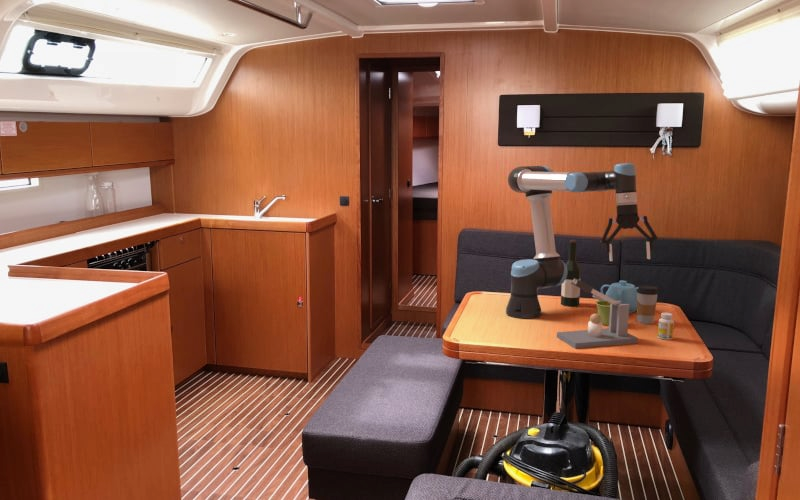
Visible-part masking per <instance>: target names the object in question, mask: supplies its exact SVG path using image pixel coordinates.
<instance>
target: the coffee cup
mask: <svg viewBox="0 0 800 500" xmlns="http://www.w3.org/2000/svg"><path fill="white" fill-rule="evenodd" d="M637 287H638V289H637V310H636V315H637V319H636V320H637V322H638V323H639V324H642V325H643V324H644V325H651V324H652V325H653V323H654V322H655V321H654V320H655V315H656V308H657V303H658V295H659V291H658V287H657V286H654V285H649V284H648V285H646V284H645V285H644V284H641V285H638V286H637Z"/></svg>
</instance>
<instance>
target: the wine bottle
mask: <svg viewBox="0 0 800 500" xmlns="http://www.w3.org/2000/svg"><path fill="white" fill-rule="evenodd" d="M577 246H578V242H577V241H576V240H574V239H571V240H569V242H568V255H567V256H568V259H567V261H566V262H565V264H566V266H567V277H566V280H565V281H564V282H563V283H562V284H561V293H560V305H561V306H563V307H569V308H572V307H579V305H580V298H581V289H580V288H578V287H577V286H575V285H573V284H571V282H572V280H573V279H574V278H576V279H578V280H580V281H582V280H581V279H582V278H581V277H582V268H581V267H580V265H579V263H578V262H577Z"/></svg>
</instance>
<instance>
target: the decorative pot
mask: <svg viewBox="0 0 800 500" xmlns="http://www.w3.org/2000/svg"><path fill="white" fill-rule="evenodd" d="M600 287H601V288H600V293H602V294H604V295H606V296H608V297H610V298H611V299H613V300H615V301H622V303H621V304H629V315H631V314H632V313H633V312H637V289H638V286H637V287H636V285H634V284H632V283H628V281H627V280H622V279H621V280H619V281H618V282H612V283H611V284H607V283H606V284H603V285H602V286H600ZM604 288H608V289H607V290H606V292H605V293H604ZM598 301H600V300H598ZM603 301H605V300H603Z"/></svg>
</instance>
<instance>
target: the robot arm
mask: <svg viewBox="0 0 800 500" xmlns="http://www.w3.org/2000/svg"><path fill="white" fill-rule="evenodd" d="M507 183H508V186H509V188H510V189H511V190H512V191H513V192H515V193H518V194H525V198H526V200H527V201H529V206H530V213H531V220H532V221H531V223H532V229H533V230H532V231H533V238H534V246H535V256H534V257H533V259H532V258H531V259H530V258H529V259H528V258H527V259H520V260H516V261H515V262H513V263H512V265H511V271H510V296H509V300H508V302H507V305H506V306H505V307H506V308H505V309H506V310H505V311H506V312H505V314H506V315H507V316H509V317H511V318H512V317H513V318H517V319H536V318H540V317H541V316H542V308H541V304H540V300H539V290H540V289H547V288H555V287H558V286H562V283H563V282H564V281H565V280H566V277H567V266H566V263H565V262H564V261H563V260H562V259H561V255H560V254H559V253H558V252H557V249H556V242H555V234H554V228H553V227H554V226H553V218H552V210H551V197H552V196H553V191H555V192H558V191H559V192H570V193H574V194H575V193H586V192H591V193H592V192H601V193H602V192H604V191H605V192H606V191H614V192H615V204H616V208H615V209H616V218H613V217H609V218H608V222H607V226H606V228H605V231H604V233H603V234H602V236H601V239H600V243H603V244H605V252H606V253H608V254H609V262H613V260H614V259H613V245H612V243H611V242H613V241H612V240H614V238H615V237H616V236H617V235H618V233H619V232H620V231H621V230H622V229H623V230H628V229H630V230H631V229H632V230H633V229H636V230H637V231H638V232H639V233H640V234H641V235H642V236H643V237H644V238H645V239H646V240H647V241H646V242H645V245H646V260H647V259H648V260H651V251H653V249H654V246H653V242H654V241H656V240H658V236H657V235H656V233H655V231H654V229H653V228H652V226H651V225H650V223H649V221H648V216H647V215H643V216H639V214H638V213H639V212H638V211H639V210H638V205H637V203H638V197H637V196H638V195H637V173H636V166H635V164H634V163H633V162H632V163H631V162H623V163H617V164H614V167H613V169H612V170H608V171H584V172H583V171H581V172H580V171H578V172H577V171H576V172H575V171H554V170H553V169H552V168H551V167H549V166H546V165H531V166H517V167H514V168H513V169H511V171H509V174H508V176H507ZM639 221H640V222H642V223H643V225H644V226H645V227H646V229H647V230H648V232H649V234H650V235H649V234H648V233H647V232H646V231H645V230H644V229H642V227H641V226H640V225H639V224H638V223H639ZM615 223H617V224H618V225H617V226H616V228H615V229H614V230H613V231H612V233H611V234H610V236H609V237H608V235H609V233H610V230H611V228H612V225H614V224H615ZM607 237H608V238H607Z"/></svg>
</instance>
